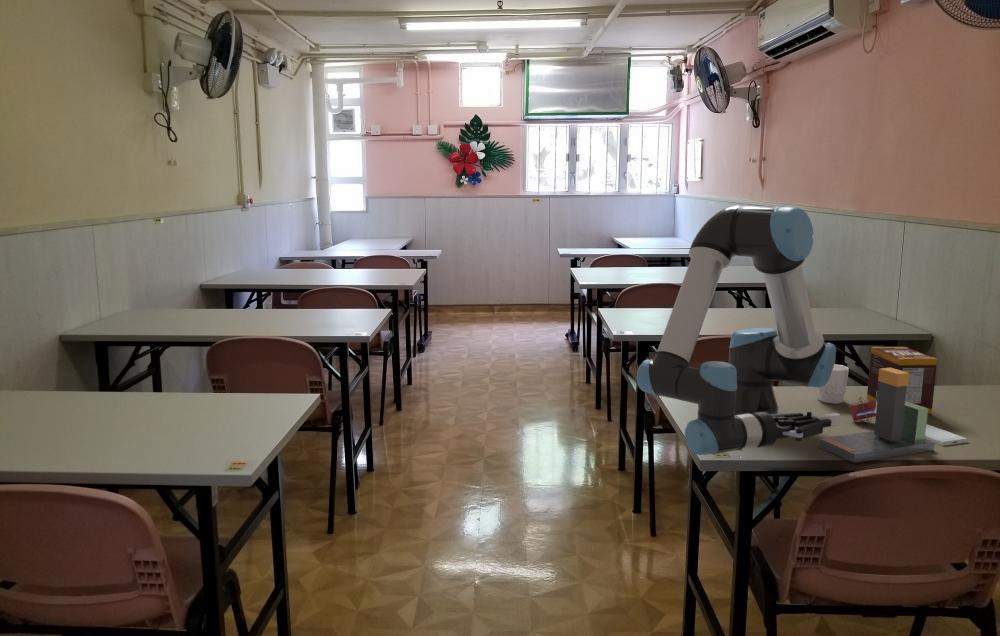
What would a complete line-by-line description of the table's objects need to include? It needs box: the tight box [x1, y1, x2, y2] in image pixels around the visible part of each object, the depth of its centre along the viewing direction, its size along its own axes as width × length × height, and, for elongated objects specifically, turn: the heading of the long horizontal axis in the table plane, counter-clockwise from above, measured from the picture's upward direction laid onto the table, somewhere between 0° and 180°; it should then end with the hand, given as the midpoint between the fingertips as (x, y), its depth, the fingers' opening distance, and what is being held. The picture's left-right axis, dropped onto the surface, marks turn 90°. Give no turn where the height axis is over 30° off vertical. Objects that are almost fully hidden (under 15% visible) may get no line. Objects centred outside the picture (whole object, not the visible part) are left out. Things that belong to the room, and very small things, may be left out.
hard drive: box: [925, 423, 969, 447], centre depth 186 cm, size 2×8×12 cm
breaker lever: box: [873, 368, 909, 441], centre depth 176 cm, size 3×5×16 cm, turn 20°
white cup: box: [817, 363, 850, 405], centre depth 214 cm, size 8×8×10 cm
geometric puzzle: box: [848, 396, 877, 425], centre depth 195 cm, size 7×7×8 cm
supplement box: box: [866, 346, 938, 415], centre depth 209 cm, size 10×15×16 cm
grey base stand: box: [817, 401, 936, 464], centre depth 176 cm, size 24×11×10 cm, turn 110°
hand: (837, 419), depth 170 cm, fingers closed
